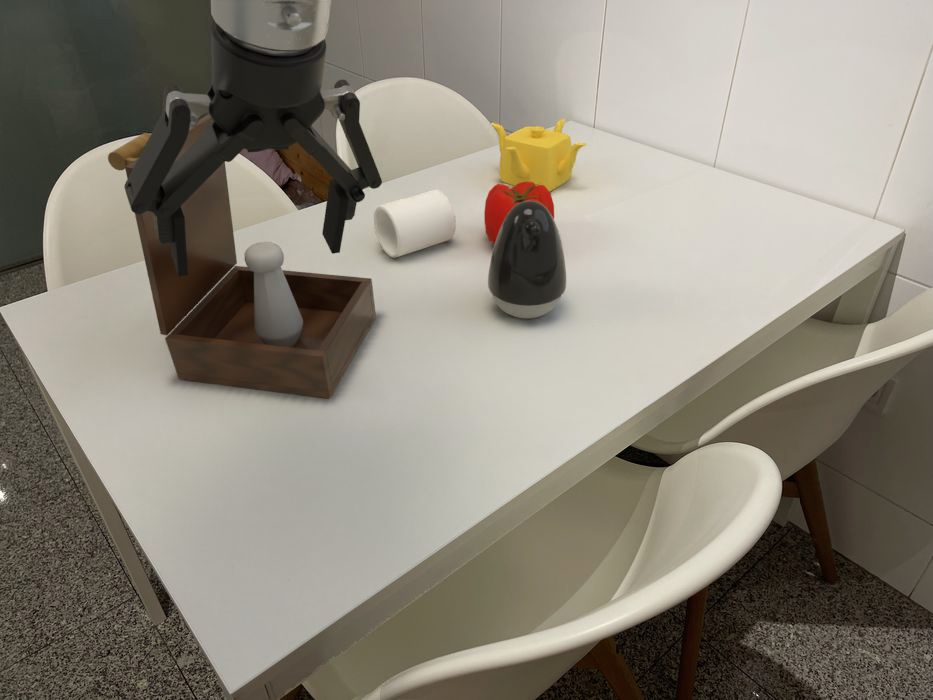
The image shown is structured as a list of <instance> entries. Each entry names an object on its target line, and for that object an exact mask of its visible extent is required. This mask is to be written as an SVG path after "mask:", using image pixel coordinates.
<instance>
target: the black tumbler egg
mask: <svg viewBox="0 0 933 700" xmlns="http://www.w3.org/2000/svg"><path fill="white" fill-rule="evenodd" d="M560 235H561V234H560V232H559V229H558V226H557V224H556V221H555V218H554V219H553V217H552V215H551V214H550V212H549V210H548V209H547V208H546V207H545V206H544V205H543V204H541V203H539V202H536V201H523V202H520V203H518V204H516V205H515V206H514V207H513V208H512V209H511V210H510V211H509V213H508V214H507V216H506V217H505V219H504V221H503V223H502V225H501V228H500V230H499V233H498V236H497V239H496V242H495V245H494V244H493V250H492V253H491V257H490V262H489V268H488V275H487V286H488V290H489V291H490V293H491V296H492V298H493V300H494V302H495V304H496V305H497V307H498V308H499V309H500V310H502V311H503V312H504V313H506V314H508V315H509V316H512V317H515V318H517V319H518V318H519V319H535V318H539V317H542V316H545V315H547V314H548V313H550V312H551V311H552V310H554V309H555V307H556V306H557V305H558V304H559V302H560V300H561V298H562V295H563V294H564V293H565V291H566V288H567V268H566V260H565V259H566V258H565V253H564V248H563V244H562V240H561V236H560Z"/></svg>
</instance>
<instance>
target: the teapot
mask: <svg viewBox="0 0 933 700" xmlns="http://www.w3.org/2000/svg"><path fill="white" fill-rule="evenodd" d="M566 121H567V120H566V118H562V119H560V120H558V121H557V122H556V124H555V125H554V128H553V130H550V129H546V128H545V127H544V126H538V125H535V126H534V125H533V126H530V125H529V126H524V127H522V128H520V129H518V130H516V131H514V132H512V133H510V134H509V135H508V134H507V132H506V130H505V128H504V127H503V126H502V125H501V124H499V123H497V122H491V123H490V125H491V126H492V127H493V128H494V130H495V131H496V132H497V136H498V144H499V145H498V147H499V153H500V156H499V157H500V159H499V177H500V181H501V182H502V183H505V184H508V185H511V186H512V187H514V186H515V185H517V184H518V183H521V182H525V181H528V182H534V183H535V185H536V184H538V185H544V186H545V187H546V188H547V189H548V191H549V192H550V193H551V192H552V191H554V190H555V189H557V188H558V187H560V186H562V185H563V184H565V183H566V182H568V181H569V180H571V179H570V178H571V176H572V172H573V168H574V166H575V163H576V159H577V155H578V152H579V150H581V148H584V147H586V146H587V145H588V144H587V143H585V142H576V143H574V144H572V140H571V136H570V135H569V134H568V133H567V134H566V133H563V128H564V125H565V123H566ZM536 186H537V185H536Z"/></svg>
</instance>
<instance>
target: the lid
mask: <svg viewBox="0 0 933 700" xmlns="http://www.w3.org/2000/svg"><path fill="white" fill-rule="evenodd" d="M211 119H212V118H211V116H210V114H206V115H204V116H202V118H199V121H198V123H197V127H196V128H194V129H190V128H189V133H188V136H187V139H186V141H185V143H184V145H183V147H182V149H181V151H180V153H179V154H178V156H177V158H176V160H175V162H174V163H173V165H174V164H175V163H176V162H177V161H178V160H179V159H180V158H181V157H182V156H183V154H184V153H185V152H186V151H187V150H188V149H189V148H190V147H191V146H192V145H193V144H194V143H195V142H196V141H197V140H198V139H199V138H200V137H201V136H202V135H203V133H204V129H205V126H206V125H207V123H208V122H209V121H210V120H211ZM150 135H151V133H148V132H143V133H142V134H139V135H138V136H136V137H135V138H133V139H131V140H130V141H128V142H126V143H125V144H123V145H121V146H120V147H118V148H116V149H115V150H112V151H111V152H109V154H108V156H107V160H108V163H109V164H110V166H111V167H112V168H113V169H115V170H117V171H124V170H125V175H126V177H127V178H126V180H127V179H128V177H129V176H130V174H131V172H132V170H133V168H134V166H135V164H136V162H137V160H138V158H139V156H140V154H141V153H142V151H143V149H144V147H145V145H146V143H147V141H148V139H149V137H150ZM173 165H172V166H173ZM181 209H182V212H183V214H184V217H185V233H186V250H187V268H188V275H185V276H178V273H177V270H176V267H175V264H174V261H173V258H172V256H171V248H170V243H165V244H162V243H161V242H160V240H159V238H158V235H157V232H156V229H155V222H154V213H153V212H150V211H146V212H145V213H142V214H136V213H134V215H135V220H136V225H137V230H138V235H139V240H140V244H141V248H142V254H143V258H144V262H145V267H146V272H147V277H148V281H149V287H150V291H151V292H150V293H151V296H152V300H153V305H154V310H155V314H156V319H157V324H158V329H159V333H160V335H161V336H165V337H167V336H168V335H169V334H170V333H171V332H172V331H173V330H174V329H175V328H176V327H177V326H178V325H179V324H180V323H181V322H182V320H183V319H184V318H185V317H186V316H187V315H188V314H189V313H190V312H191V311H192V310H193V309H194V308H195V307H196V306H197V305H198V304H199V303H200V302H201V301H202V300H203V299H204V298H205V297H206V296H207V295H208V293H209V292H210V291H211V290H212V289H213V288H214V287H215V286H216V285H217V284H218V283H219V282H220V281H221V280H222V279H223V278H224V277H225V276H226V275H227V274H228V273H229V272H230V271H231V270H232V269H233V268H234V267H235V266H237V264H238V260H237V252H236V241H235V234H234V227H233V226H234V225H233V218H232V217H233V216H232V209H231V200H230V193H229V186H228V177H227V169H226V162H224V163H223V164H222V165H221V166H220V167H219V168H218V169H217V170H216V171H215V172H214V173H213V174H212V175H211V176H210V177H209V178H208V179H207V180H206V181H205V182H204V183H203V184H202V185H201V186H200V187H199V188H198V189H197V190H196V191H195V192H194V193H193V194H192V195H191V196H190V197H189V198H188V199H187V200H186V201H185V202H184V203H183V204H182V205H181Z"/></svg>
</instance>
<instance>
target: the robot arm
mask: <svg viewBox="0 0 933 700" xmlns="http://www.w3.org/2000/svg"><path fill="white" fill-rule="evenodd" d="M331 8H332V0H210V14H211V16H212V18H213V21H212V22H211V27H210V33H211V36H210V37H211V38H210V39H211V84H210V87H209V88H208V90H207V92H206V93H205V94H202V93H191V92H190V93H189V92H186V93H185V92H183V89H182V88H181V86H179V85H178V84H175V83H173V84H172V83H171V84H169V85H168V84H167V85H166V86H165V88H164V89H163V99H162V101H163V102H162V113H161V114H160V116H159V118H158V120H157V122H156V124H155V126H154V128H153V130H152V131H151V133H150V134H151V135H150V137H149V139H148V141H147V143H146V145H145V147H144V149H143V151H142V153H141V154H140V156H139V158H138V160H137V162H136V164H135V166H134V168H133V170H132V172H131V174H130V176H129V177H128V179H127V178H126V181H125V184H124V185H123V186H124V191H125V194H126V198H127V201H128V203H129V204H128V205H129V207H130V210H131V211H132V212H133V213H134V214H135V213H136V214H142V213H145V212H146V211H150V212H153V213H154V222H155V229H156V232H157V235H158V238H159V240H160V242H161V243H162V244H165V243H170V248H171V256H172V258H173V261H174V264H175V267H176V270H177V273H178V276H185V275H188V268H187V250H186V233H185V217H184V214H183V212H182V209H181V205H182V204H183V203H184V202H185V201H186V200H187V199H188V198H189V197H190V196H191V195H192V194H193V193H194V192H195V191H196V190H197V189H198V188H199V187H200V186H201V185H202V184H203V183H204V182H205V181H206V180H207V179H208V178H209V177H210V176H211V175H212V174H213V173H214V172H215V171H216V170H217V169H218V168H219V167H220V166H221V165H222V164H223V163H224V162H225V163H230V162H232V161H234V159H235V158H236V157H237V156H238V155H239V154H241V152H242V151H243V150H246V151H247V153H259V152H263V151H266V150H273V151H274V150H275V151H288V150H289V147H291V146H293V145H295V144H296V143H297V144H298V145H299V146H300V147H301V149H302V150H304V151H305V152H306V154H307V155H308V156H311V157H312V158H313V159H314V160H315V161H316V162H317V163H318V164H319V165H320V167H322V168H323V169H324V170H325V171H326V172H327V173H328V175H329V176H330V177H332V179H329V184H328V191H327V196H326V197H327V198H326V203H325V204H326V205H325V212H324V218H323V226H322V232H321V233H322V234H321V235H322V236H323V238H324V240H325V243H326V244H327V246H328V249H329V250H330V252H331V254H332V255H333V254H340V252H341V247H342V241H343V235H344V230H345V224H346V221H351V220H353V218H354V217H355V216H356V215H355V214H356V209H357V203H360V202H362V201H363V200H364V199H365V197H366V194H365V191H364V189H367V188H370V189H372V190H373V189H374V190H375V189H378V188H380V187H381V186H382V184H383V180H382V177H381V174H380V172H379V170H378V167H377V165H376V162H375V159H374V156H373V154H372V152H371V149H370V146H369V144H368V141H367V137H366V136H365V133H364V131H363V128H362V126H361V123H360V114H361V113H360V112H361V101H360V100H359V98H358V96H357V95H356V93H355V91H354V90H353V88H352V86H351V85H350V83H349V81H347V80H346V79H339V80H337V81H336V82H335V83H334V86H333V88H327V89H321V88H322V86H323V79H324V71H325V62H326V54H327V53H326V52H327V43H326V37H327V35H328V32H329V26H330V18H331V17H330V16H331ZM325 109H326V110H328V111H329V112H330V115H331V116H332V117H333V118H335V119H338V121H339V124H340V126H341V128H342V131H343V133H344V135H345V138H346V140H347V143H348V145H349V148H350V150H351V152H352V155H353V157H354V159H355V161H356V164H357V167H356V168H353V169H351V167H350V166H349V165H348V164H347V163H346V162H345V161H344V160H343V159H342V157H341V156H339V154H338V153H337V152H336V151H335V150H334V149H333V148H332V146H331V145H330V144H329V143H328V142H327V141H326V140H325V139H324V138H323V136H321V134H320V133H319V132H318V131H317V130H316V129H315V128H314V127H313V124H314V123H315V122H316V121H317V120H318V119H319V118H320V117H321V116H322V114H323V113H324V111H325ZM208 114H210V116H211V118H212V119H211V120H210V121H209V122H208V123H207V125H206V126H205V129H204V133H203V135H202V136H201V137H200V138H199V139H198V140H197V141H196V142H195V143H194V144H193V145H192V146H191V147H190V148H189V149H188V150H187V151H186V152H185V153H184V154H183V156H182V157H181V158H180V159H179V160H178V161H177V162H176V163H175V164H174V165H173V163H174V162H175V160H176V158H177V156H178V154H179V153H180V151H181V149H182V147H183V145H184V143H185V141H186V139H187V136H188V133H189V128H190V129H194V128H196V127H197V123H198V121H199V120H200V119H201V117H204V116H206V115H208ZM226 136H228V137H226ZM172 165H173V166H172Z"/></svg>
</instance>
